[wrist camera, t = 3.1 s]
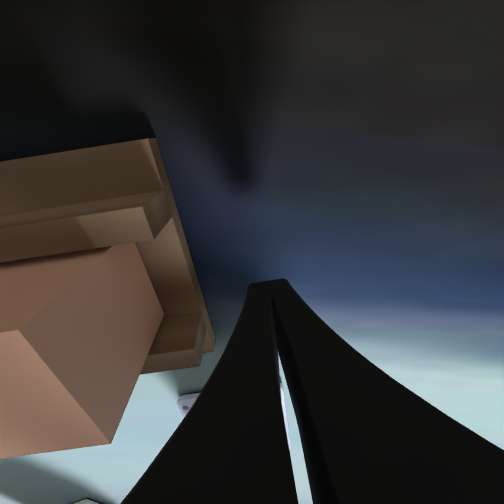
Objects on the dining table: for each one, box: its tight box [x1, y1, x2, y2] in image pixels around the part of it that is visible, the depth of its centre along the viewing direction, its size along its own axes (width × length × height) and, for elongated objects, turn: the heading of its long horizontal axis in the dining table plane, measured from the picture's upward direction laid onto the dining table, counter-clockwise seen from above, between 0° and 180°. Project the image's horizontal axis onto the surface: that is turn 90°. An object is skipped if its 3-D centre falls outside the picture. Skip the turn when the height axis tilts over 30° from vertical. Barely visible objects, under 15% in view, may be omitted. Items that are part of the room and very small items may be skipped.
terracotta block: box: [0, 242, 164, 458], centre depth 9 cm, size 5×6×6 cm
